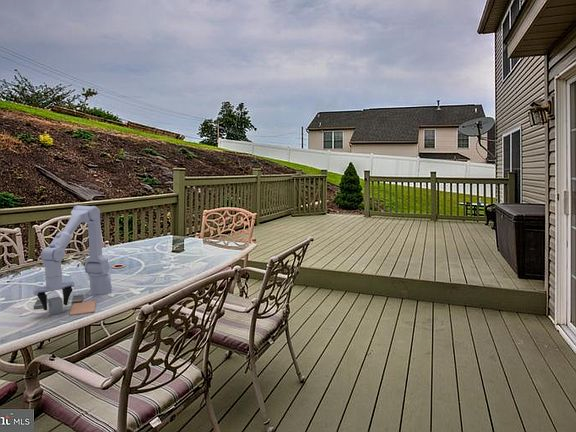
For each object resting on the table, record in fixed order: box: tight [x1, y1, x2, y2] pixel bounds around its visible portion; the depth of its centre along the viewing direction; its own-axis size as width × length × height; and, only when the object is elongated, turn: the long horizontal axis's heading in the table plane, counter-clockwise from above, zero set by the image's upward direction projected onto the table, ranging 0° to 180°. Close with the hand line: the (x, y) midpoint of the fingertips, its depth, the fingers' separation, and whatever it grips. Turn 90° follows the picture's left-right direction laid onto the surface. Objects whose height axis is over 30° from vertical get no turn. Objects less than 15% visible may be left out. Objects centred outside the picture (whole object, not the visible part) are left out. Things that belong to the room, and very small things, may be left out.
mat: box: [69, 300, 97, 317], centre depth 154 cm, size 9×13×1 cm
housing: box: [33, 294, 84, 310], centre depth 160 cm, size 18×8×2 cm, turn 116°
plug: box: [47, 296, 64, 316], centre depth 151 cm, size 4×8×6 cm, turn 51°
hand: (55, 307), depth 149 cm, fingers open, 7 cm apart
